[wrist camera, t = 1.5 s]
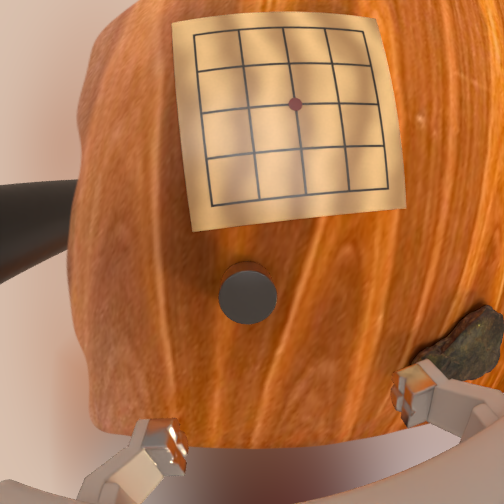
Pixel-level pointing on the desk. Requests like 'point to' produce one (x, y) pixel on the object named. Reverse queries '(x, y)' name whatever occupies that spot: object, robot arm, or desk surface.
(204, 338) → the desk surface
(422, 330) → the desk surface
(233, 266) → the game stone
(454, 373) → the stone
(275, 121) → the go board
